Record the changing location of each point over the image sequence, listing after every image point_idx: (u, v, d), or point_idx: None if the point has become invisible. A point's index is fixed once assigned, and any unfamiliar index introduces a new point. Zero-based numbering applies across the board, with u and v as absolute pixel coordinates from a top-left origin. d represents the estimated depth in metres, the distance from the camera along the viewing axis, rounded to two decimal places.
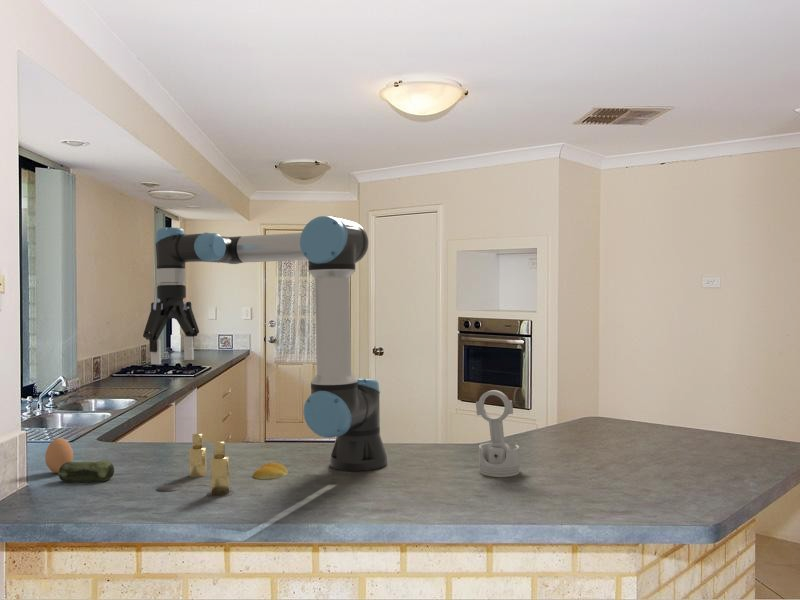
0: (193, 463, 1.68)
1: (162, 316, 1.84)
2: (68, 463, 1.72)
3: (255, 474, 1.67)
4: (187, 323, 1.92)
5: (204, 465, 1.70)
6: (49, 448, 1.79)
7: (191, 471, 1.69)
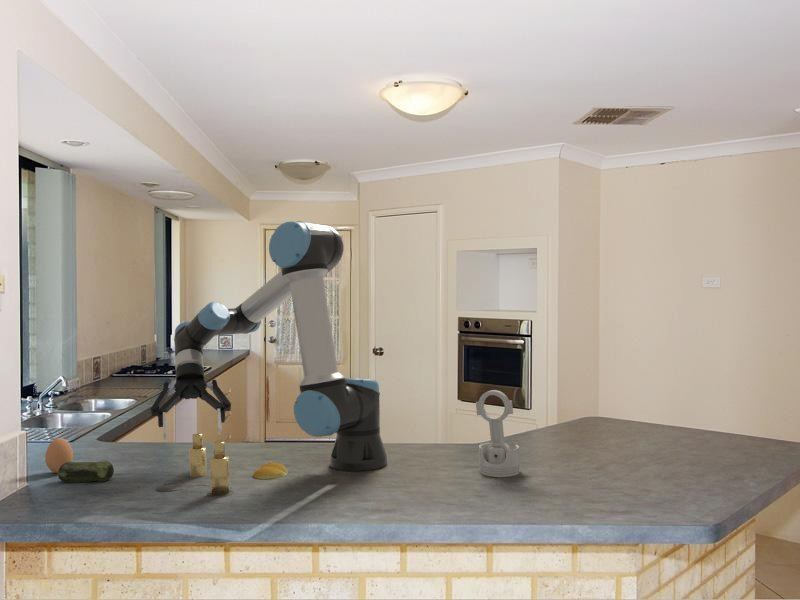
0: (193, 463, 1.68)
1: None
2: (67, 463, 1.72)
3: (255, 474, 1.67)
4: (210, 397, 1.84)
5: (204, 465, 1.70)
6: (49, 448, 1.79)
7: (191, 471, 1.69)
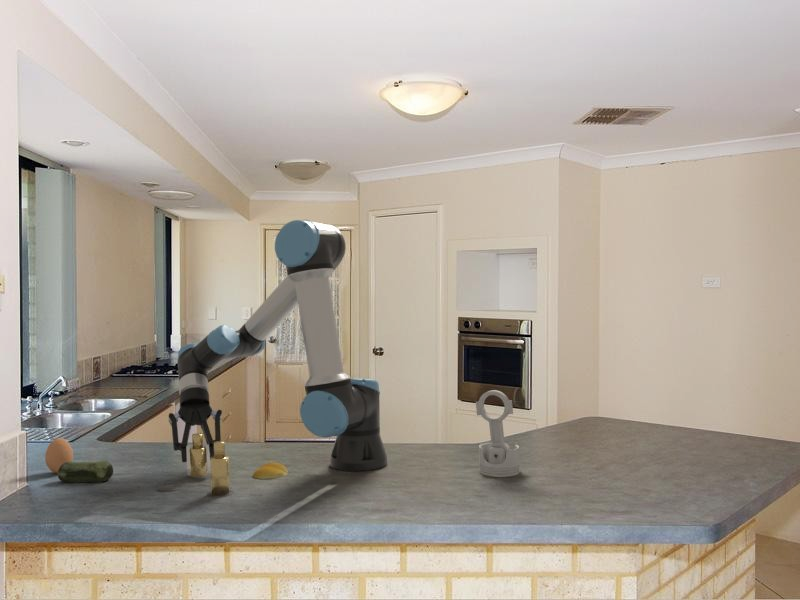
0: (193, 463, 1.68)
1: None
2: (67, 463, 1.72)
3: (255, 474, 1.67)
4: (206, 429, 1.74)
5: (204, 465, 1.70)
6: (49, 448, 1.79)
7: (191, 471, 1.69)
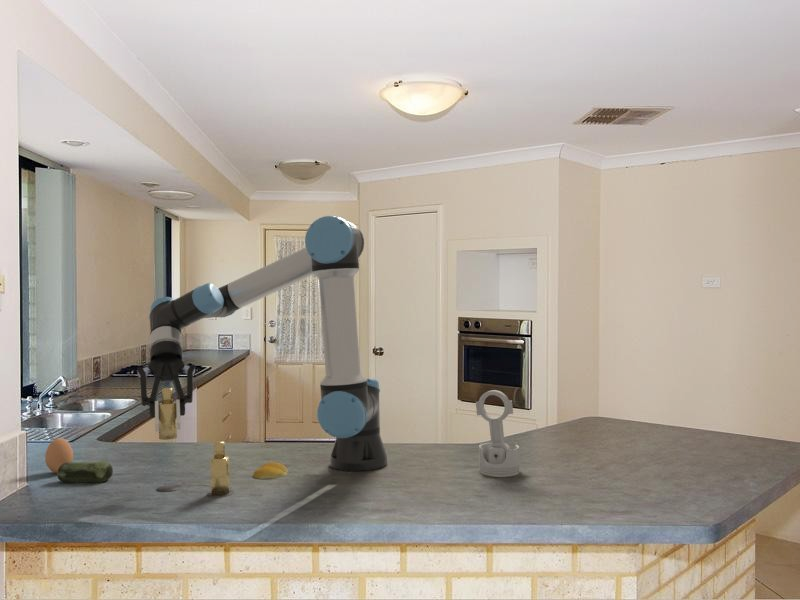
0: (162, 418, 1.57)
1: None
2: (66, 463, 1.72)
3: (255, 474, 1.67)
4: (177, 383, 1.63)
5: (174, 421, 1.58)
6: (49, 448, 1.79)
7: (160, 427, 1.58)
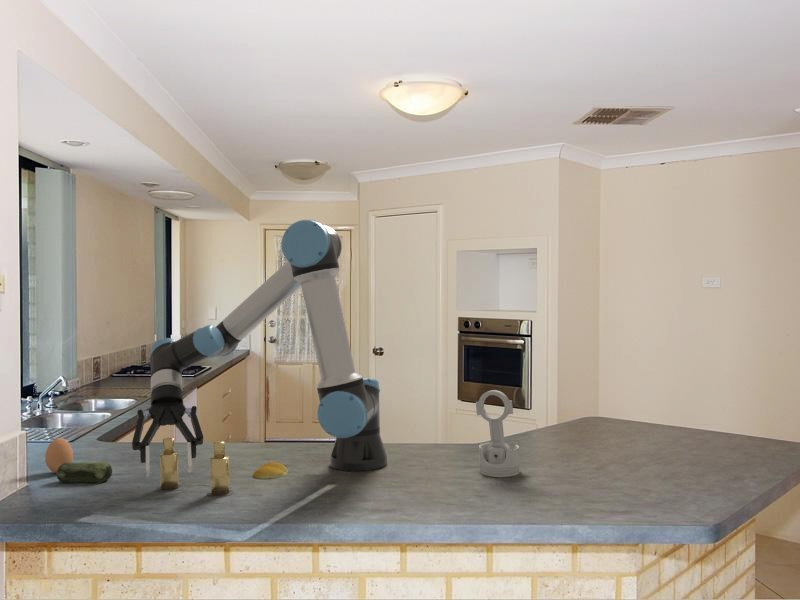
0: (164, 469, 1.57)
1: None
2: (66, 463, 1.71)
3: (255, 474, 1.67)
4: (184, 427, 1.63)
5: (175, 472, 1.58)
6: (49, 448, 1.79)
7: (161, 478, 1.57)
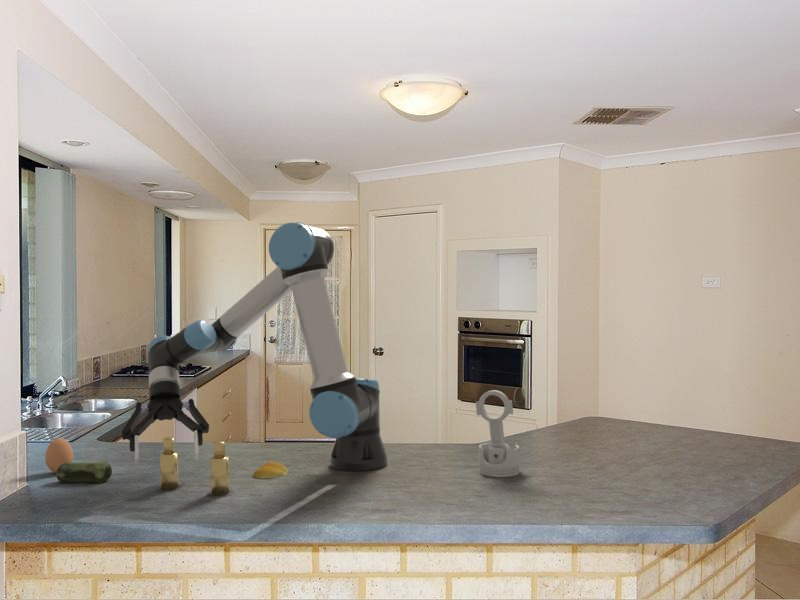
0: (164, 469, 1.57)
1: None
2: (65, 464, 1.71)
3: (255, 474, 1.68)
4: (187, 418, 1.71)
5: (175, 472, 1.58)
6: (49, 448, 1.79)
7: (161, 478, 1.57)
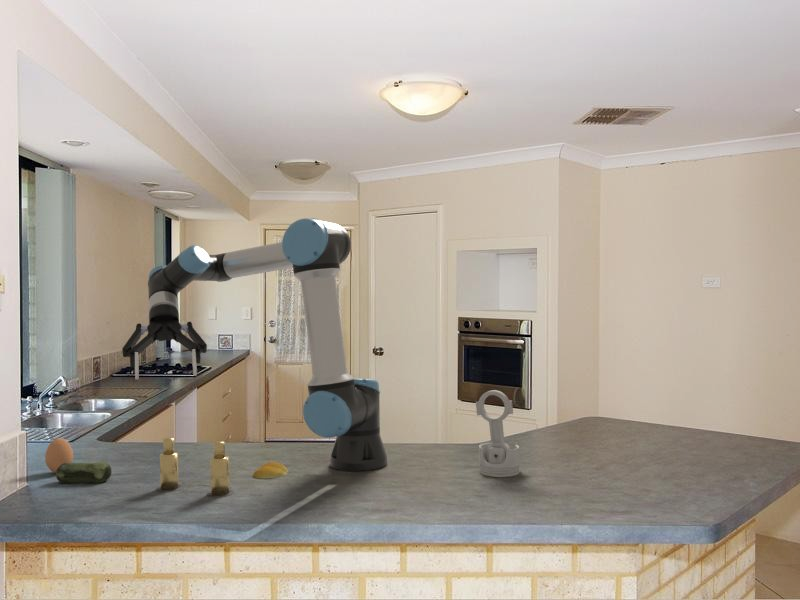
0: (164, 469, 1.57)
1: None
2: (65, 464, 1.71)
3: (255, 474, 1.68)
4: (185, 338, 1.77)
5: (175, 472, 1.58)
6: (49, 448, 1.79)
7: (161, 478, 1.57)
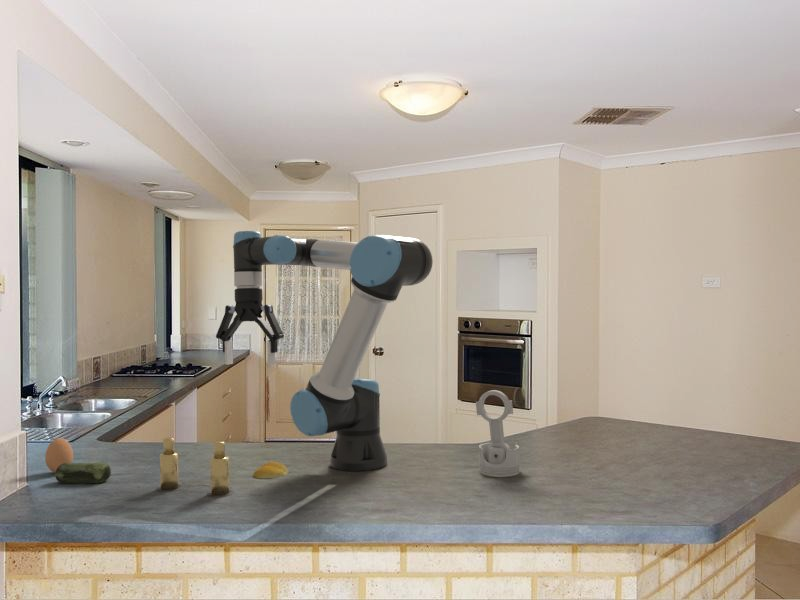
0: (164, 469, 1.57)
1: None
2: (64, 464, 1.71)
3: (255, 473, 1.68)
4: (262, 327, 1.86)
5: (175, 472, 1.58)
6: (49, 448, 1.79)
7: (161, 478, 1.57)
